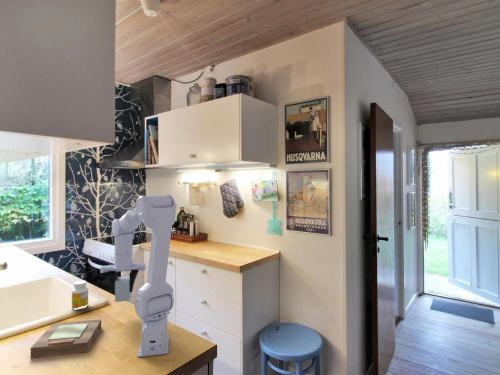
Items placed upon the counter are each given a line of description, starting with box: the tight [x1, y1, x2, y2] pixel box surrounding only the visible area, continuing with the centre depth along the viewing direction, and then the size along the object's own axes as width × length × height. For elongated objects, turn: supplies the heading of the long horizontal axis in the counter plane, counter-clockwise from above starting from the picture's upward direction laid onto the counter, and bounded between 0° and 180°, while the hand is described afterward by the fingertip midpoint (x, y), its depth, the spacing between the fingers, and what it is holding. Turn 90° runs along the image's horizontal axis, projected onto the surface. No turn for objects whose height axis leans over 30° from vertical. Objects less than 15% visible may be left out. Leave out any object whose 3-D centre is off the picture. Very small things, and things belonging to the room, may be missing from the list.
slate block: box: [114, 276, 132, 303], centre depth 103 cm, size 4×4×7 cm
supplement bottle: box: [71, 280, 89, 310], centre depth 111 cm, size 5×5×10 cm
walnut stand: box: [30, 318, 102, 359], centre depth 88 cm, size 14×14×3 cm
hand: (123, 291), depth 103 cm, fingers closed on slate block, 4 cm apart
